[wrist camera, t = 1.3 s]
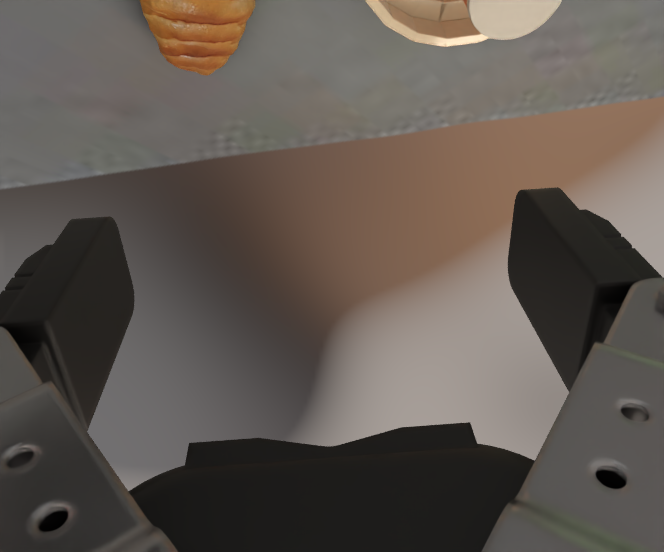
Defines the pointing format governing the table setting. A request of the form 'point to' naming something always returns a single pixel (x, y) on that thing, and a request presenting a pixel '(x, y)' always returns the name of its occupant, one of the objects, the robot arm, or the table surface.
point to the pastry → (197, 30)
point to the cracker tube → (509, 16)
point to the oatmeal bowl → (429, 21)
